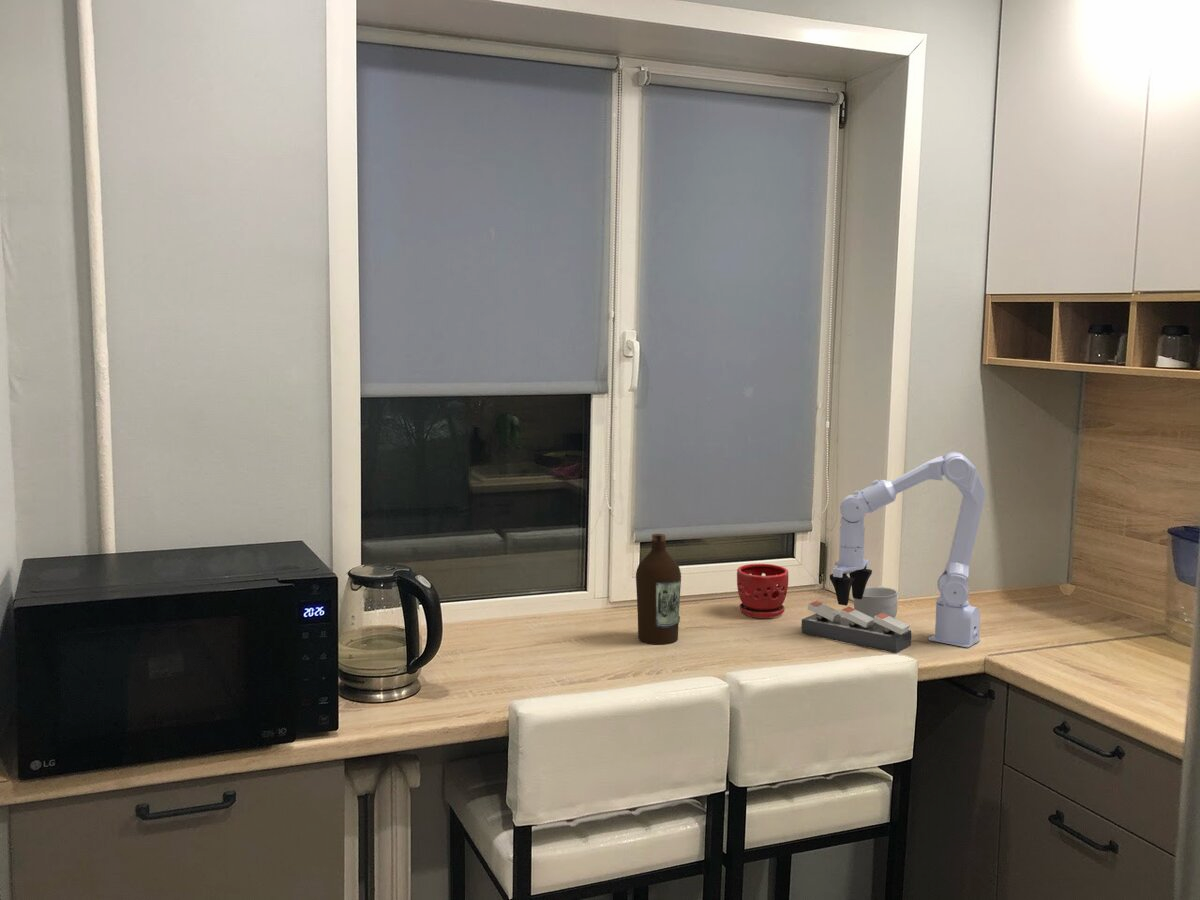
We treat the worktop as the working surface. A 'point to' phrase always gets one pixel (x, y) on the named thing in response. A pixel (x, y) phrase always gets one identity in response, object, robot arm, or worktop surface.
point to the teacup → (877, 601)
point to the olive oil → (658, 595)
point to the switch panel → (856, 633)
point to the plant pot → (762, 589)
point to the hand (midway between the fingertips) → (850, 601)
